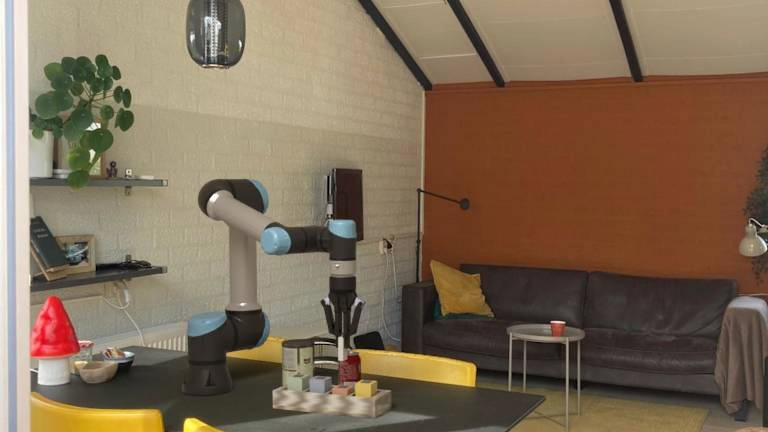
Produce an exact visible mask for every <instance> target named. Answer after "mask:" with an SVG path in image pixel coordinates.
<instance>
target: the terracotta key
mask: <svg viewBox="0 0 768 432" xmlns="http://www.w3.org/2000/svg"><path fill="white" fill-rule="evenodd" d="M353 392H354V386H348V385H339V384H338V385H337V386H336V387H334V388H332V394H334V395H345V396H348V395H350V394H352V393H353Z"/></svg>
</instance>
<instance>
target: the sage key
mask: <svg viewBox="0 0 768 432" xmlns="http://www.w3.org/2000/svg"><path fill="white" fill-rule="evenodd" d="M287 388H288V390H292V391H304V390H306V389H308V388H309V375H301V374H294V375H291V376H289V377H287Z"/></svg>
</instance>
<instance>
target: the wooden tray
mask: <svg viewBox="0 0 768 432" xmlns="http://www.w3.org/2000/svg"><path fill="white" fill-rule="evenodd" d="M336 386H338V385H335V384H332V388H334V387H336ZM272 409H277V410H286V411H288V410H289V411H296V412H305V413H313V414H325V415H332V416H333V415H335V416H336V415H337V416H343V417H344V416H345V417H352V418H353V417H354V418H361V419H362V418H363V419H371V420H373V419H374V420H375V419H377V418H379V417H381V415H384V413H386V412H387V411H389V410H391V409H392V390H390V389H389V390H388V389H380V388H377V395H375V396H373V397H372V398H366V397H356V396H355V387H354V392H353V393H352V394H350V395H348V396H345V395H334V394H332V390H330V391H328V392H326V393H313V392H310V383H309V388H308V389H306V390H304V391H292V390H288V388H287V384H286V385H284V386H283V385H281V386H279V387H278V388H276V389H273V390H272Z"/></svg>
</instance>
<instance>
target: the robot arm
mask: <svg viewBox="0 0 768 432" xmlns="http://www.w3.org/2000/svg"><path fill="white" fill-rule="evenodd" d="M269 201H270V200H269V194H268V192H267V189H266V187H265V186H264V185H263V184H262V183H261V182H260V181H259V180H257V179H250V178H214V179H211V180H209V181H208V182H206V183H204V184H203V186H201V188H200V190H199V191H198V195H197V205H198V207H199V209H200V211H201V212H202V213H203V214H204V215H205V216H206V217H208V218H210V219H211V220H214V221H216V222H217V221H218V222H221V221H222V222H224V224H225V225H226V226H228V251H229V253H228V258H229V259H228V260H229V267H228V268H229V269H228V271H229V302H228V304H227V305H226V306H225V307H224V311H220V310H219V311H218V310H217V311H216V310H215V311H205V312H201V313H198V314H195V315H192V316H191V317H190V318H189V319H188V321H187V329H186V335H187V339H186V340H187V367H186V370H185V374H184V377H183V380H182V383H181V388H182V389H181V392H182V393H183V394H186V395H191V396H212V395H214V396H215V395H221V394H226V393H229V392H230V391H232V390H233V379H232V377H231V373H230V371H229V367H228V365H227V363H228V362H227V353H235V352H239V351H246V350H247V351H250V350H253V349H256V348H260V347H262V346H263V345H265V343H266V342H267V340H268V338H269V335H270V332H271V323H270V319H269V317H268V315H267V314H266V312H265V311H263V306H262V305H261V304H260V303H259V302H258V272H257V271H258V269H257V268H258V266H257V264H258V263H257V261H258V259H257V252H258V251H257V242H258V243H260V247H261V249H262V250H263V252H264V253H265V254H266V255H268V256H283V255H284V256H285V255H295V254H298V255H299V254H310V253H311V254H312V253H313V254H314V253H324V254H329V256H328V257H329V258H328V260H329V262H328V263H329V264H328V267H329V269H328V271H329V272H328V273H329V274H330V276H329V277H328V279H329V280H328V281H329V282H328V284H329V285H328V290H329V292H328V294H327V296H326V297H325V298H322V299H321V300H320V305H321V307H323V311H324V317H325V320H326V324H327V330H328V333H329V334H330V335H334V338H335V348H336V349H337V351H338V354H337V357H338V359H337V361H338V362H339V361H344V360H347V351H348V349H350V348H351V336H354V335H356V334H357V332H358V328H359V324H360V320H361V316H362V310H363V308H364V306H365V305H366V301H365V300H361V299H360V298H359V296H358V293H357V276H355V275H356V274H357V237H358V234H357V224H356V222H355V221H354V220H353V219H331V220H330V221H329V223H328V226H324V225H316V224H313V225H310V224H309V225H305V226H304V225H303V226H286V225H284V224H283V223H280V222H279V221H277V220H275V219H273V218H271V217H269V216H268V215H265V214H266V212H267V209H268V208H269V203H270V202H269ZM331 304H332V305H331ZM353 305H354V310H353V313H352V307H353ZM332 306H333V309H332ZM333 312H334V314H333ZM351 315H352V316H351Z"/></svg>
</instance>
